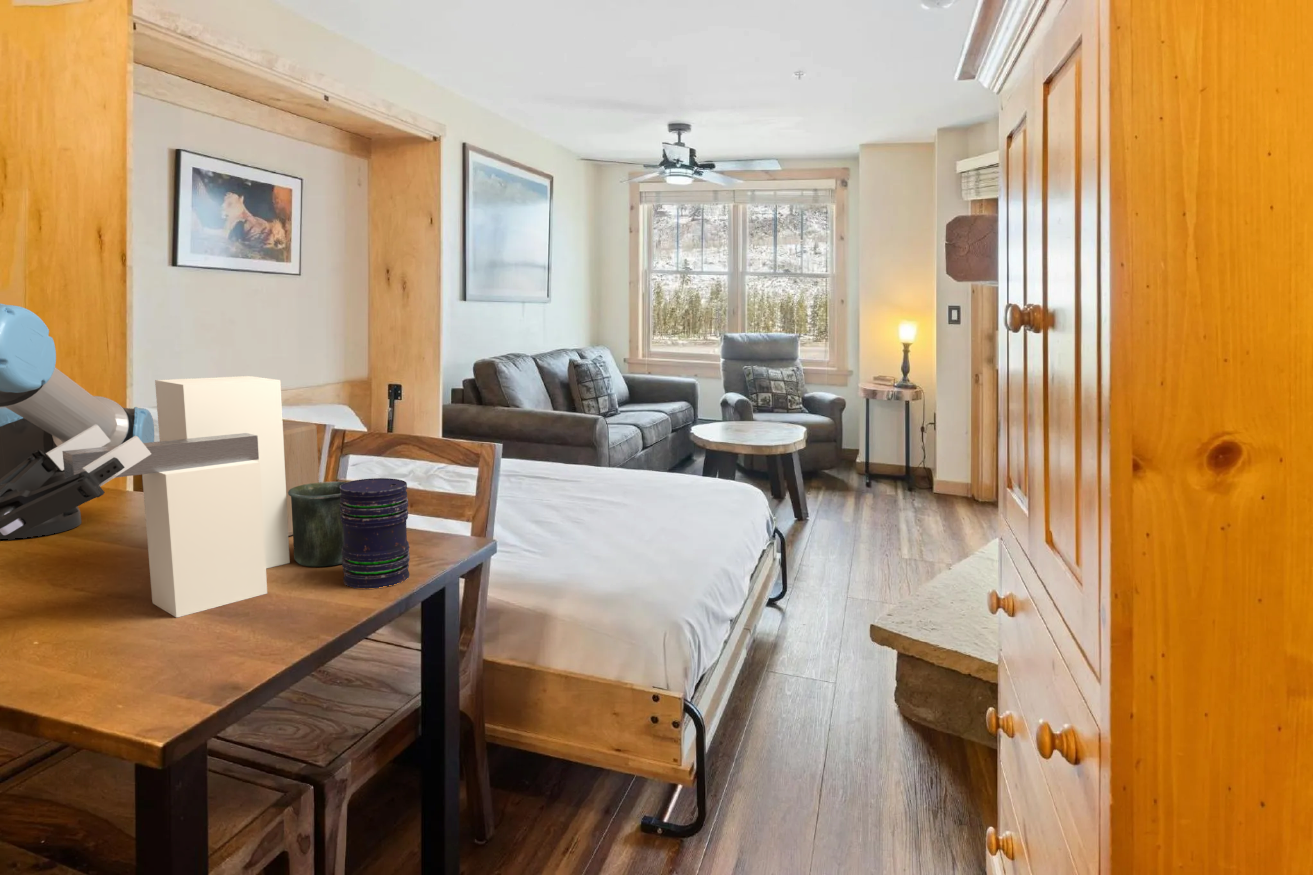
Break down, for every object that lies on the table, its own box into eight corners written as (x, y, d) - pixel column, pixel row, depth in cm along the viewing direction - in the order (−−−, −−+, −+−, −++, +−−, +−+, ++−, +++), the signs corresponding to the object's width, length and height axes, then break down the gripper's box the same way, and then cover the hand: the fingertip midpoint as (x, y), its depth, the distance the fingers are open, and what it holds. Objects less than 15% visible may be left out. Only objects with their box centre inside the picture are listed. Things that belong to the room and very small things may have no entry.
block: (288, 538, 137) (283, 429, 134) (240, 534, 139) (233, 426, 136) (323, 524, 147) (318, 422, 144) (277, 520, 149) (272, 419, 146)
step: (152, 603, 106) (141, 466, 103) (241, 581, 115) (233, 455, 112) (176, 617, 101) (165, 474, 98) (267, 593, 110) (259, 462, 107)
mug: (276, 561, 125) (272, 490, 123) (349, 540, 137) (346, 475, 135) (321, 573, 120) (318, 499, 118) (392, 549, 132) (390, 482, 131)
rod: (65, 478, 94) (62, 451, 94) (247, 456, 112) (246, 432, 111) (74, 482, 92) (71, 454, 92) (258, 459, 109) (257, 435, 109)
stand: (169, 570, 119) (155, 380, 114) (260, 550, 130) (250, 376, 125) (197, 585, 113) (183, 384, 108) (289, 562, 124) (280, 380, 120)
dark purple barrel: (335, 590, 112) (331, 492, 110) (350, 569, 122) (346, 478, 120) (405, 588, 114) (402, 491, 112) (414, 567, 124) (412, 477, 121)
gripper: (-62, 552, 94) (106, 449, 107) (-5, 600, 79) (181, 475, 92) (-111, 506, 90) (69, 405, 103) (-62, 548, 75) (142, 424, 88)
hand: (122, 438), depth 97 cm, fingers open, 13 cm apart
